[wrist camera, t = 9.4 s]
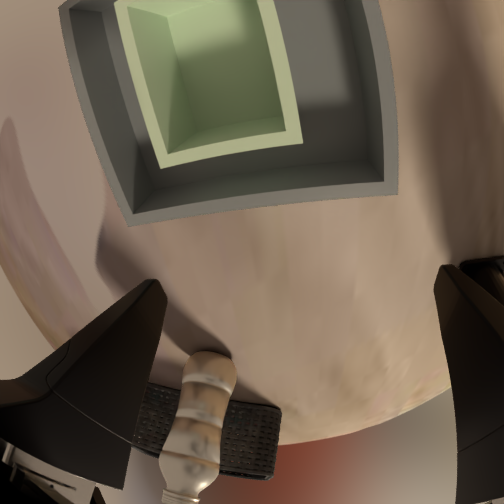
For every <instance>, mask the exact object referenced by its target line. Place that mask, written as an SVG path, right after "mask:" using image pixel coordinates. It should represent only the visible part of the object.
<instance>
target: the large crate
mask: <svg viewBox="0 0 504 504" xmlns="http://www.w3.org/2000/svg"><path fill="white" fill-rule="evenodd" d="M116 1H118V0H67V1H66V2H64V3H63V4H62V5H61V6H60V7H59V8H58V9H59V15H60V22H61V27H62V33H63V38H64V44H65V48H66V53H67V57H68V61H69V66H70V70H71V74H72V77H73V81H74V85H75V88H76V92H77V96H78V99H79V102H80V106H81V109H82V112H83V115H84V118H85V121H86V124H87V127H88V130H89V133H90V136H91V139H92V142H93V144H94V147H95V150H96V152H97V155H98V158H99V160H100V163H101V165H102V168H103V170H104V173H105V175H106V178H107V180H108V183H109V185H110V187H111V190H112V192H113V194H114V197H115V199H116V201H117V204H118V206H119V208H120V210H121V212H122V215H123V217H124V219H125V221H126V223H127V225H128V227H131V226H136V225H142V224H148V223H154V222H160V221H166V220H172V219H178V218H185V217H191V216H198V215H205V214H212V213H219V212H226V211H234V210H242V209H249V208H258V207H266V206H275V205H284V204H293V203H302V202H313V201H323V200H334V199H346V198H359V197H373V196H388V195H398V167H399V153H398V122H397V107H396V96H395V86H394V78H393V71H392V64H391V57H390V51H389V46H388V41H387V36H386V31H385V26H384V22H383V18H382V14H381V10H380V6H379V2H378V0H273V1H274V5H275V8H276V12H277V16H278V20H279V24H280V28H281V32H282V36H283V40H284V45H285V49H286V53H287V58H288V63H289V67H290V72H291V77H292V82H293V87H294V92H295V98H296V103H297V109H298V115H299V120H300V126H301V133H302V139H303V143H302V144H293V145H285V146H277V147H270V148H263V149H256V150H250V151H244V152H238V153H232V154H227V155H221V156H216V157H211V158H206V159H201V160H197V161H192V162H187V163H183V164H179V165H174V166H170V167H166V168H162V169H160V166H159V163H158V160H157V157H156V154H155V151H154V148H153V145H152V142H151V139H150V136H149V133H148V130H147V127H146V123H145V120H144V117H143V114H142V111H141V107H140V104H139V101H138V97H137V94H136V90H135V87H134V83H133V80H132V76H131V73H130V69H129V65H128V61H127V58H126V54H125V50H124V46H123V42H122V37H121V33H120V29H119V25H118V20H117V16H116V11H115V6H114V2H116Z"/></svg>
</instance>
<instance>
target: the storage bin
mask: <svg viewBox="0 0 504 504" xmlns="http://www.w3.org/2000/svg"><path fill="white" fill-rule="evenodd" d="M180 394H181V391H179V390H175V389H171V388H167V387H163V386H159V385H156V384H152V383H147V386H146V390H145V393H144V397H143V401H142V405H141V409H140V413H139V417H138V421H137V425H136V429H135V433H134V435H135V436H134V438H133V442H132V448H134V449H136V450H138V451H140V452H142V453H144V454H147V455H149V456H152V457H155V458H158V459H159V456H160V453H161V451H162V450H163V449H162V448H163V446H164V444H165V442H166V440H167V437H168V435H169V433H170V431H171V428H172V425H173V422H174V419H175V418H176V413H177V410H178V405H179V400H180ZM281 417H282V412H281V411H279V410H278V409H275V408H271V407H266V406H262V405H256V404H248V403H241V402H235V401H229V402H228V406H227V409H226V413H225V416H224V420H223V427H222V429H221V431H222V434H221V441H220V464H219V466H220V468H219V474H221V475H226V476H233V477H239V478H245V479H254V480H269V479H271V478H273V476H274V470H275V469H274V468H275V462H276V453H277V447H278V441H279V432H280V424H281ZM142 427H143V428H142ZM144 428H145V429H144ZM237 434H239V435H237ZM138 436H140V438H138ZM138 442H140V443H138ZM251 452H253V453H251ZM231 461H234V462H231ZM238 462H240V463H238ZM249 463H250V464H249ZM223 471H224V472H223ZM229 472H230V473H229ZM235 473H236V474H235ZM241 474H243V475H241Z"/></svg>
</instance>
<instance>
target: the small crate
mask: <svg viewBox="0 0 504 504" xmlns="http://www.w3.org/2000/svg"><path fill="white" fill-rule="evenodd" d="M114 6H115V11H116V16H117V20H118V25H119V29H120V33H121V37H122V42H123V46H124V50H125V54H126V58H127V61H128V65H129V69H130V73H131V76H132V80H133V83H134V87H135V90H136V94H137V97H138V101H139V104H140V107H141V111H142V114H143V117H144V120H145V123H146V127H147V130H148V133H149V136H150V139H151V142H152V145H153V148H154V151H155V154H156V157H157V160H158V163H159V166H160V169H162V168H166V167H170V166H174V165H179V164H183V163H187V162H192V161H197V160H201V159H206V158H211V157H216V156H221V155H227V154H232V153H238V152H244V151H250V150H256V149H263V148H270V147H277V146H285V145H293V144H302V143H303V139H302V133H301V126H300V120H299V115H298V109H297V103H296V98H295V92H294V87H293V82H292V77H291V72H290V67H289V63H288V58H287V53H286V49H285V45H284V40H283V36H282V32H281V28H280V24H279V20H278V16H277V12H276V8H275V5H274V1H273V0H118V1H116V2H114Z"/></svg>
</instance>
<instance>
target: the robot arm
mask: <svg viewBox="0 0 504 504" xmlns="http://www.w3.org/2000/svg"><path fill="white" fill-rule="evenodd" d="M434 295H435V300H436V306H437V311H438V317H439V324H440V330H441V336H442V340H443V345H444V349H445V354H446V359H447V363H448V369H449V374H450V380H451V386H452V393H453V401H454V409H455V417H456V432H457V452H458V453H457V489H456V502H455V504H476V503H481V502H486V501H489V502H487V503H485V504H504V256H499V257H492V258H485V259H478V260H471V261H464V262H463V263H462V264H461V265H460V267H459V269H458V268H457V267H455V266H454V265H452V264H447V265H441V266H440V268H439V271H438V274H437V277H436V281H435V284H434ZM166 307H167V296H166V294H165V292H164V290H163V288H162V286H161V284H160V282H159V281H158V280H157V279H147V280H145V281H143V282H142V283H141V284H139V285H138V286H137V287H135V288H134V289H133V290H131V291H130V292H129V293H127V294H126V295H125V296H123V297H122V298H121V299H120V300H118V301H117V302H116V303H114V304H113V305H112V306H111V307H110V308H108V309H107V310H106V311H104V312H103V313H102V314H100V315H99V316H98V317H96V318H95V319H94V320H93V321H91V322H90V323H89V324H88V325H86V326H85V327H84V328H83V329H81V330H80V331H79V332H78V333H77V334H75V335H74V336H73V337H72V338H71V339H69V340H68V341H67V342H66V343H64V344H63V345H62V346H61V347H59V348H58V349H57V350H56V351H54V352H53V353H52V354H50V355H49V356H48V357H46V358H45V359H44V360H42V361H41V362H40V363H38V364H37V365H36V366H34V367H33V368H32V369H30V370H29V371H28V372H26V373H25V374H23V375H22V376H20V377H18V378H16V379H11V380H0V504H106V503H105V501H104V499H103V497H102V495H101V492H100V490H99V488H98V487H96V486H95V485H96V483H98V484H101V485H104V486H108V487H111V488H114V489H118V490H123V487H124V481H125V476H126V471H127V466H128V461H129V456H130V451H131V447H132V442H133V438H134V433H135V429H136V425H137V421H138V417H139V413H140V409H141V405H142V401H143V397H144V393H145V390H146V386H147V382H148V379H149V375H150V372H151V368H152V365H153V361H154V358H155V354H156V351H157V348H158V344H159V340H160V336H161V331H162V326H163V321H164V316H165V312H166Z"/></svg>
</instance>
